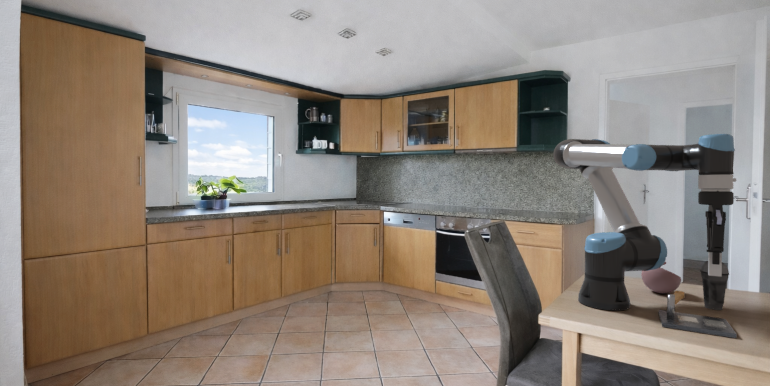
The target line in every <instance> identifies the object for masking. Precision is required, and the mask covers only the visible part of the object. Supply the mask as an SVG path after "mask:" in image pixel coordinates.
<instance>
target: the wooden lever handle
mask: <svg viewBox="0 0 770 386" xmlns="http://www.w3.org/2000/svg"><path fill="white" fill-rule="evenodd" d="M672 294H673V295H675V306H676V305H677V304H678V303H679V302H680V301H681V300H682V299H685V291H682V290H674V293H672Z"/></svg>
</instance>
